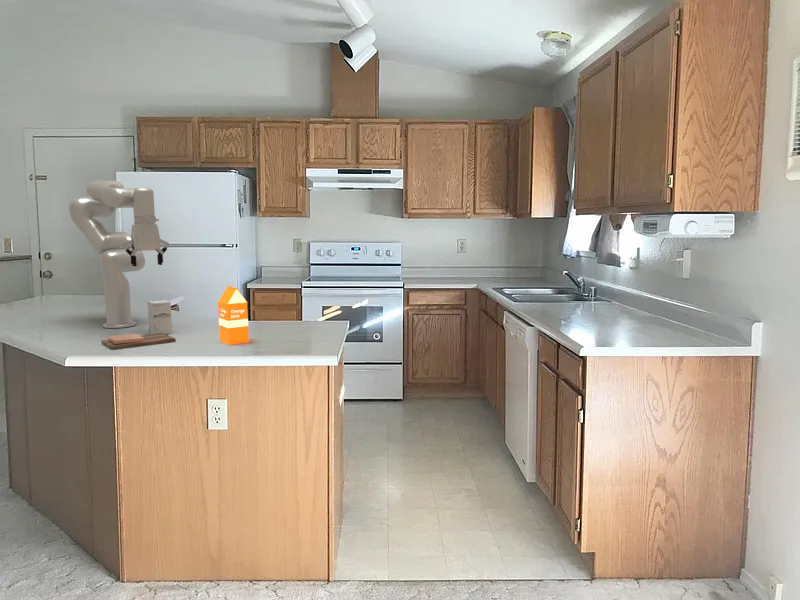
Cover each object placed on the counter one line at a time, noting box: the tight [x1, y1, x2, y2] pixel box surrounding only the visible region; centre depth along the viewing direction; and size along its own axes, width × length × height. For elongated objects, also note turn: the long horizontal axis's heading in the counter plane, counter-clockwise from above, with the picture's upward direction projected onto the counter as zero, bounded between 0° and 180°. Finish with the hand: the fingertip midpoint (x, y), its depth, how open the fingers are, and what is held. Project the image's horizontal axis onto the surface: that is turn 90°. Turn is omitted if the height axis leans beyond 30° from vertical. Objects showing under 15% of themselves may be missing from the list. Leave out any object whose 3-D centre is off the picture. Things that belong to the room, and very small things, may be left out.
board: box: [100, 333, 176, 351], centre depth 243 cm, size 14×22×1 cm, turn 127°
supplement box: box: [147, 299, 173, 335], centre depth 261 cm, size 7×7×13 cm
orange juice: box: [217, 285, 250, 346], centre depth 243 cm, size 8×9×20 cm
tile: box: [107, 333, 145, 344], centre depth 241 cm, size 10×10×1 cm
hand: (147, 265), depth 260 cm, fingers open, 9 cm apart
